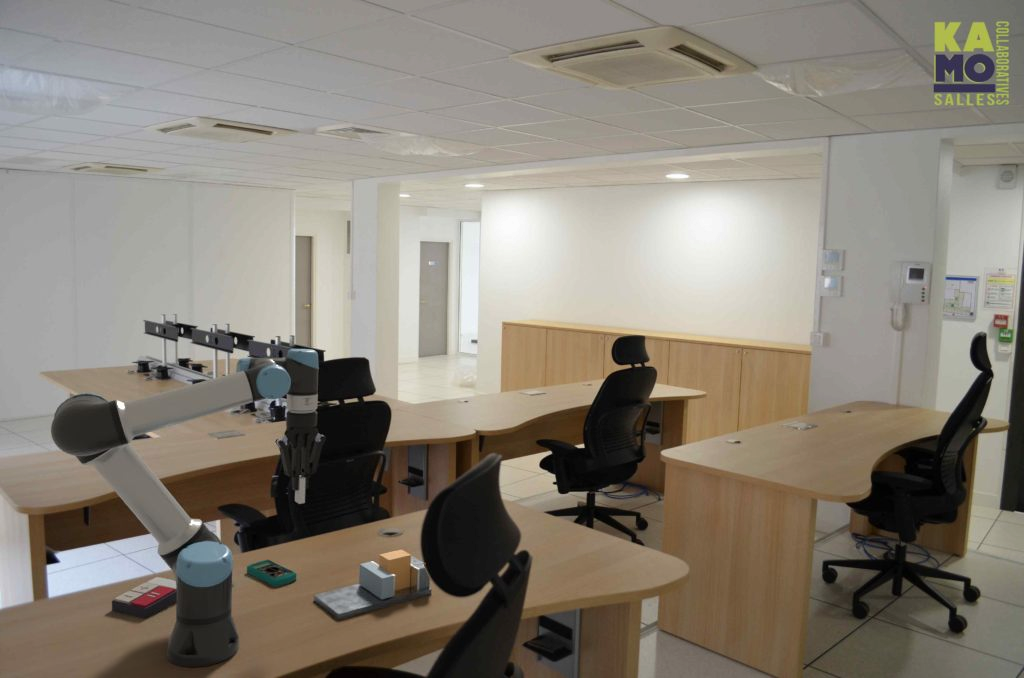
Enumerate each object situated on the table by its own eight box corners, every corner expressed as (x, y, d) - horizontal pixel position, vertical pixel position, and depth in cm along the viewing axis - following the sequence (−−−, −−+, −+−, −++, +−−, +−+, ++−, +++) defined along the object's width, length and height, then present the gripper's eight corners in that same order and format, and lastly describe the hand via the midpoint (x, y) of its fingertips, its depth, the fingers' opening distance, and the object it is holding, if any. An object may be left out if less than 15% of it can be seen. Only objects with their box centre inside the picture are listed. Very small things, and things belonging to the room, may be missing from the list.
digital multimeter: (275, 589, 208) (275, 579, 208) (245, 574, 217) (245, 564, 217) (298, 582, 213) (298, 571, 213) (268, 567, 223) (268, 557, 223)
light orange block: (387, 592, 204) (388, 560, 204) (378, 586, 208) (379, 554, 207) (409, 586, 209) (411, 554, 208) (400, 580, 213) (401, 549, 212)
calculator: (110, 598, 189) (156, 574, 203) (111, 614, 190) (157, 589, 204) (145, 606, 186) (189, 581, 200) (146, 622, 186) (190, 596, 200)
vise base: (338, 619, 190) (339, 590, 190) (313, 600, 201) (314, 572, 200) (431, 594, 208) (432, 567, 208) (404, 577, 219) (405, 552, 218)
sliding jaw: (381, 599, 199) (382, 578, 199) (359, 584, 208) (359, 564, 208) (394, 595, 202) (395, 575, 201) (372, 580, 211) (372, 561, 210)
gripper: (283, 414, 184) (281, 510, 185) (332, 410, 192) (330, 501, 194) (270, 410, 189) (269, 502, 191) (319, 406, 198) (317, 494, 200)
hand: (299, 501), depth 193 cm, fingers closed
